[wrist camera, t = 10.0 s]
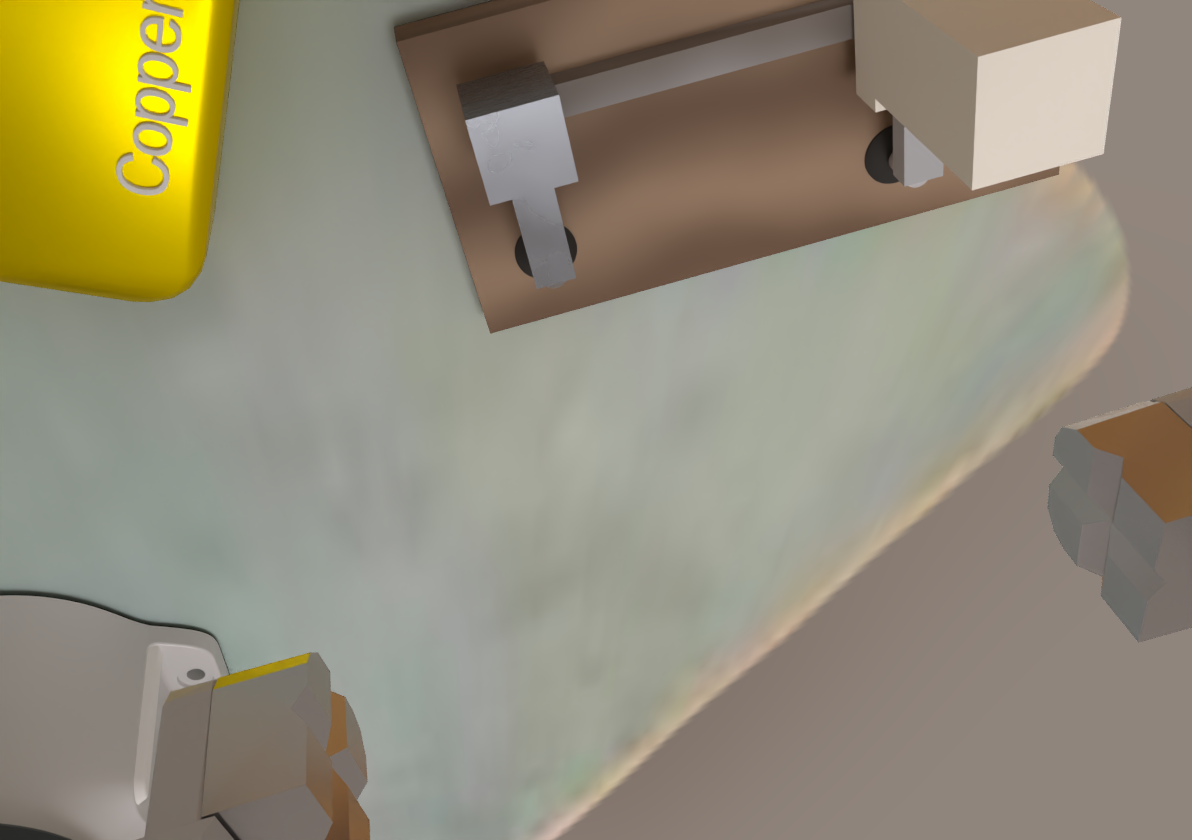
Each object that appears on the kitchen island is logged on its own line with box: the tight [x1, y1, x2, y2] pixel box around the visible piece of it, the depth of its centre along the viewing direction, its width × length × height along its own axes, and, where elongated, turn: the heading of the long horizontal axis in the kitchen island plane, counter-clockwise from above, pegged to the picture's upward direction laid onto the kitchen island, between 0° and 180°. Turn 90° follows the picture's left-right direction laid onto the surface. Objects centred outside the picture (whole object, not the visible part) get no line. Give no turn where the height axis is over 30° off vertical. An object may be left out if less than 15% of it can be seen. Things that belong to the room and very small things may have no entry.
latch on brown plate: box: [394, 0, 1060, 333], centre depth 39 cm, size 12×24×2 cm, turn 101°
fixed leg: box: [456, 61, 578, 289], centre depth 36 cm, size 8×3×4 cm, turn 11°
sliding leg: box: [853, 0, 1121, 190], centre depth 34 cm, size 9×4×10 cm, turn 11°
